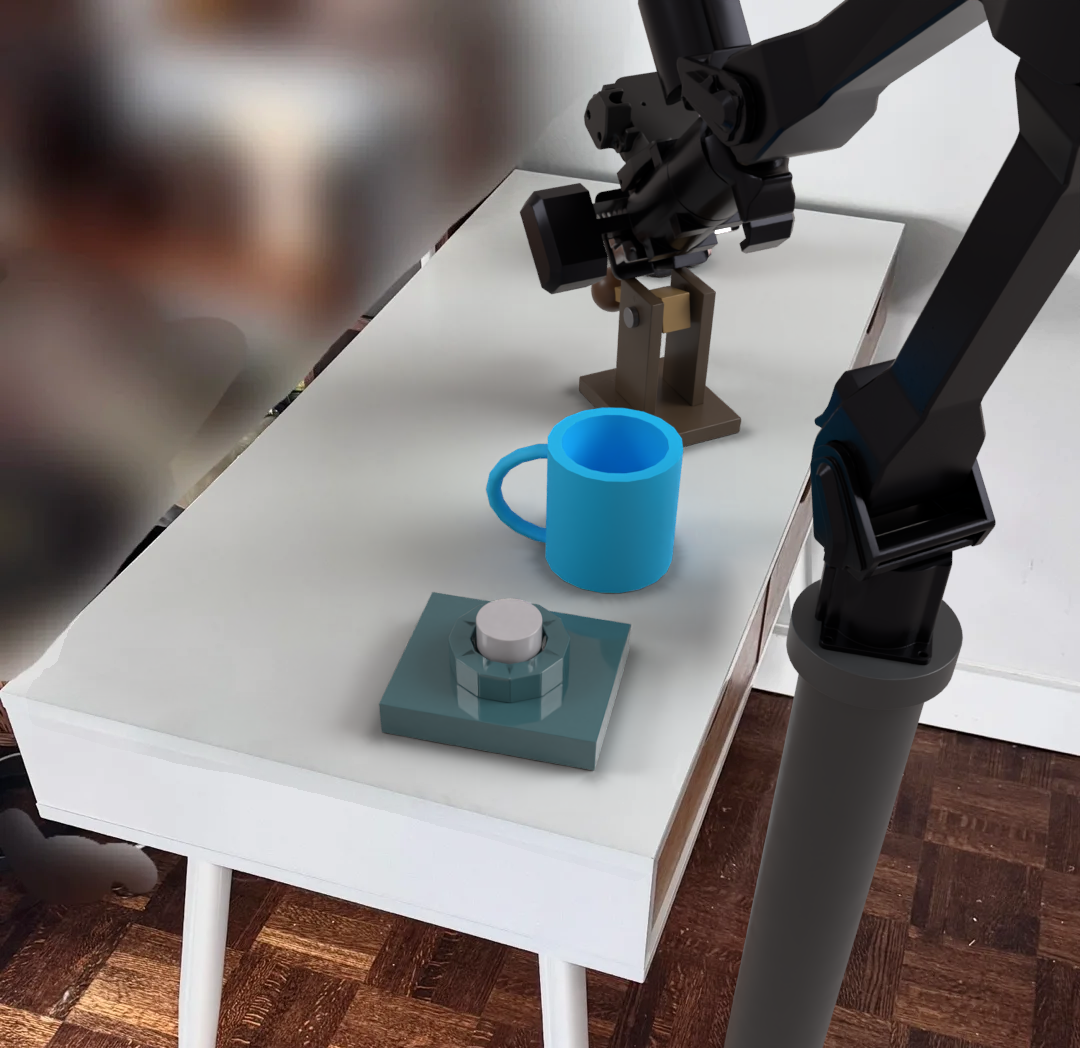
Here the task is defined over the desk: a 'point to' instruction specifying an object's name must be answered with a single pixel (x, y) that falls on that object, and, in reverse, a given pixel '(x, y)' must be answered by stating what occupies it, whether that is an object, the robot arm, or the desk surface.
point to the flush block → (508, 686)
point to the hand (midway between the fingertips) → (614, 263)
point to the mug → (603, 498)
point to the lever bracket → (664, 363)
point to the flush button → (509, 630)
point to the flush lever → (673, 298)
